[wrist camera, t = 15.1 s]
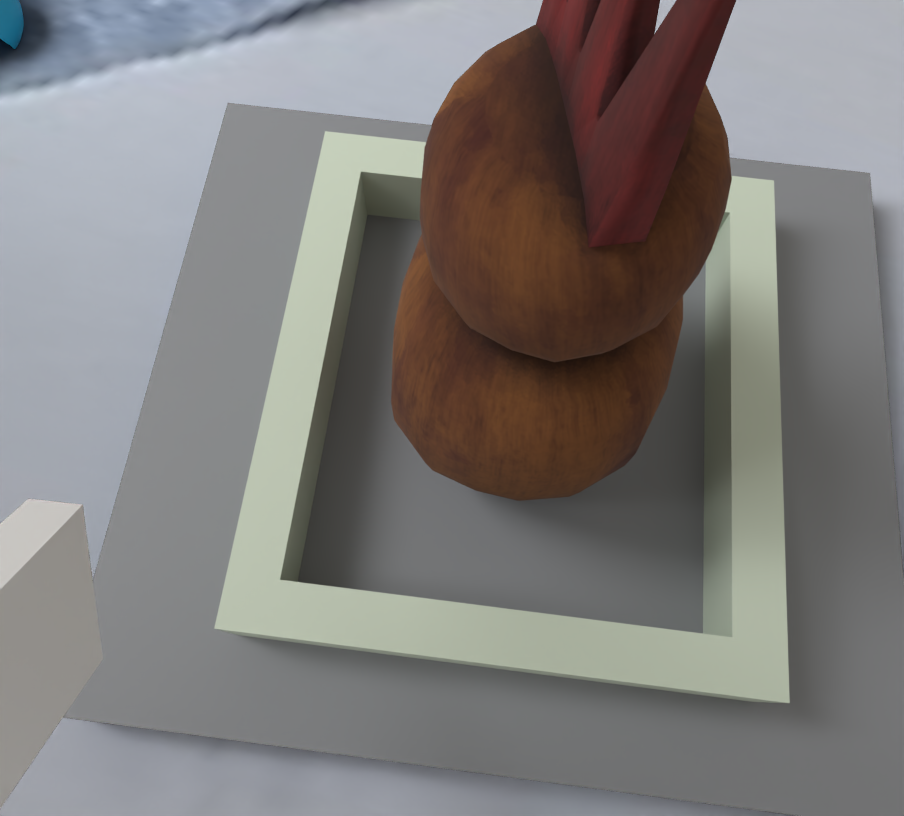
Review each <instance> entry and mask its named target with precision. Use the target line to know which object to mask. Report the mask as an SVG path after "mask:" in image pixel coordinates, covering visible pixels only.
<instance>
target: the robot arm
mask: <svg viewBox="0 0 904 816" xmlns="http://www.w3.org/2000/svg"><path fill="white" fill-rule="evenodd" d="M102 659H103V655H102V648H101V640H100V633H99V625H98V617H97V610H96V602H95V595H94V587H93V579H92V572H91V564H90V556H89V549H88V541H87V534H86V526H85V518H84V511H83V505H81V504H72V503H63V502H55V501H46V500H37V499H27V500H26V501H25V502H24V503H23V504H22V505H21V506H20V507H18V508H17V509H16V510H15V511H14V512H13V513H12V514H11V515H10V516H8V517H7V518H6V519H5V520H4V521H3V522H2V523H1V524H0V809H1V807H2V806H3V804H4V803H5V801H6V800H7V798H8V797H9V795H10V794H11V792H12V791H13V789H14V788H15V787H16V785H17V784H18V782H19V781H20V779H21V778H22V776H23V775H24V773H25V772H26V770H27V769H28V768H29V766H30V765H31V763H32V762H33V760H34V759H35V757H36V756H37V754H38V753H39V751H40V750H41V749H42V747H43V746H44V744H45V743H46V741H47V740H48V738H49V737H50V735H51V734H52V732H53V731H54V729H55V728H56V727H57V725H58V724H59V722H60V721H61V719H62V718H63V716H64V715H65V713H66V712H67V710H68V709H69V708H70V706H71V705H72V703H73V702H74V700H75V699H76V697H77V696H78V694H79V693H80V691H81V690H82V688H83V687H84V686H85V684H86V683H87V681H88V680H89V678H90V677H91V675H92V674H93V672H94V671H95V669H96V668H97V667H98V665H99V664H100V662H101V661H102Z"/></svg>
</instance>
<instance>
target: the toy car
mask: <svg viewBox="0 0 904 816" xmlns="http://www.w3.org/2000/svg"><path fill="white" fill-rule="evenodd" d="M23 27H24V19H23V12H22V7H21V4H20V2H19V0H0V39H2V40H3V41H4V42H6V43H7V44H9V45H10V46H11V47H12V48H14V49H16V47H17V46H18V44H19V42H20V40H21V36H22V33H23Z"/></svg>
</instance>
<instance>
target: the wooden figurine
mask: <svg viewBox="0 0 904 816" xmlns="http://www.w3.org/2000/svg"><path fill="white" fill-rule="evenodd" d="M735 2H736V0H677V1H676V2H675V4H674V5H673V7H672V8H671V10H670V11H669V13H668V14H667V16H666V18H665V19H664V21H663V22H662V24H661V25H660V27H659V28H658V30H657V31H656V33H655V34H654V32H655V26H656V20H657V15H658V9H659V3H660V0H543V3H542V6H541V9H540V13H539V16H538V19H537V22H536V25H534V26H532V27H530V28H528V29H526V30H524V31H522V32H520V33H518V34H517V35H515V36H513V37H511V38H509V39H507V40H505V41H503V42H501V43H500V44H498V45H496V46H495V47H493V48H491V49H490V50H488V51H486V52H485V53H484V54H483V55H482V56H481V57H480V58H479V59H478V60H477V61H476V62H475V63H474V64H473V65H472V66H471V67H470V68H469V69H468V70H467V71H466V72H465V73H464V74H463V75H462V76H461V77H460V78H459V79H458V80H457V81H456V82H455V83H454V84H453V86H452V88H451V90H450V91H449V93H448V95H447V97H446V98H445V100H444V102H443V104H442V106H441V107H440V109H439V111H438V113H437V114H436V116H435V118H434V120H433V123H432V126H431V129H430V132H429V135H428V138H427V142H426V145H425V148H424V159H423V171H422V182H421V196H420V224H421V232H422V234H421V236H420V238H419V241H418V244H417V246H416V249H415V252H414V254H413V257H412V260H411V262H410V265H409V267H408V270H407V273H406V275H405V278H404V281H403V284H402V289H401V295H400V300H399V305H398V310H397V315H396V321H395V326H394V336H393V357H392V388H391V405H392V411H393V416H394V420H395V422H396V423H397V425H398V426H399V427H400V429H401V430H402V431H403V433H404V434H405V436H406V437H407V438H408V440H409V441H410V443H411V444H412V445H413V447H414V448H415V449H416V451H417V452H418V454H419V455H420V456H421V458H422V459H423V461H424V462H425V463H426V464H427V465H428V466H429V467H430V468H431V469H432V470H433V471H435V472H437V473H439V474H441V475H443V476H445V477H448V478H450V479H452V480H454V481H456V482H458V483H460V484H463V485H465V486H467V487H469V488H471V489H473V490H476V491H479V492H483V493H488V494H492V495H496V496H500V497H504V498H508V499H512V500H516V501H523V500H536V499H548V498H561V497H570V496H572V495H575V494H577V493H579V492H581V491H583V490H584V489H586V488H588V487H590V486H591V485H593V484H595V483H596V482H598V481H600V480H601V479H603V478H605V477H606V476H608V475H610V474H612V473H613V472H615V471H617V470H618V469H620V468H622V467H623V466H625V465H626V464H627V463H628V462H629V461H630V459H631V458H632V457H633V456H634V455H635V454H636V452H637V450H638V448H639V446H640V444H641V442H642V440H643V437H644V435H645V433H646V431H647V429H648V427H649V425H650V423H651V421H652V419H653V417H654V414H655V412H656V410H657V408H658V406H659V404H660V402H661V400H662V398H663V396H664V394H665V392H666V389H667V386H668V382H669V378H670V374H671V369H672V365H673V361H674V357H675V353H676V349H677V344H678V340H679V336H680V331H681V327H682V322H683V295H684V293H685V292H686V291H687V290H688V288H689V287H690V285H691V284H692V283H693V281H694V280H695V279H696V277H697V276H698V275H699V273H700V271H701V269H702V267H703V265H704V263H705V262H706V260H707V258H708V256H709V254H710V252H711V250H712V247H713V245H714V242H715V239H716V236H717V233H718V230H719V227H720V224H721V221H722V219H723V216H724V213H725V210H726V206H727V201H728V196H729V191H730V186H731V181H732V176H731V166H730V157H729V147H728V138H727V134H726V131H725V128H724V125H723V122H722V119H721V117H720V114H719V112H718V110H717V108H716V105H715V103H714V101H713V99H712V97H711V94H710V92H709V90H708V88H707V86H706V80H707V78H708V75H709V72H710V70H711V67H712V64H713V61H714V59H715V56H716V53H717V51H718V48H719V45H720V43H721V40H722V37H723V34H724V32H725V29H726V26H727V24H728V21H729V18H730V15H731V13H732V10H733V7H734V5H735Z"/></svg>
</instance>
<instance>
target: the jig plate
mask: <svg viewBox="0 0 904 816" xmlns="http://www.w3.org/2000/svg"><path fill="white" fill-rule="evenodd" d="M431 126H432V125H425V124H416V123H407V122H398V121H388V120H379V119H370V118H361V117H352V116H343V115H334V114H324V113H315V112H306V111H297V110H288V109H279V108H269V107H260V106H251V105H242V104H233V103H228V104H227V108H226V111H225V115H224V118H223V122H222V125H221V129H220V132H219V136H218V139H217V143H216V146H215V150H214V154H213V157H212V161H211V164H210V168H209V171H208V175H207V178H206V182H205V185H204V189H203V192H202V196H201V200H200V203H199V207H198V210H197V214H196V217H195V221H194V224H193V228H192V231H191V235H190V238H189V242H188V246H187V249H186V253H185V256H184V260H183V263H182V267H181V270H180V274H179V277H178V281H177V284H176V288H175V292H174V295H173V299H172V302H171V306H170V309H169V313H168V316H167V320H166V323H165V327H164V330H163V334H162V338H161V341H160V345H159V348H158V352H157V355H156V359H155V362H154V366H153V369H152V373H151V376H150V380H149V384H148V387H147V391H146V394H145V398H144V401H143V405H142V408H141V412H140V415H139V419H138V423H137V426H136V430H135V433H134V437H133V440H132V444H131V447H130V451H129V454H128V458H127V461H126V465H125V469H124V472H123V476H122V479H121V483H120V486H119V490H118V493H117V497H116V500H115V504H114V507H113V511H112V515H111V518H110V522H109V525H108V529H107V532H106V536H105V539H104V543H103V546H102V550H101V553H100V557H99V561H98V564H97V568H96V571H95V575H94V578H93V587H94V595H95V602H96V610H97V617H98V625H99V633H100V640H101V648H102V655H103V659H102V661H101V662H100V664H99V665H98V667H97V668H96V669H95V671H94V672H93V674H92V675H91V677H90V678H89V680H88V681H87V683H86V684H85V686H84V687H83V688H82V690H81V691H80V693H79V694H78V696H77V697H76V699H75V700H74V702H73V703H72V705H71V706H70V708H69V709H68V710H67V712H66V713H65V715H64V716H63V718H70V719H78V720H85V721H93V722H100V723H107V724H115V725H122V726H130V727H137V728H145V729H152V730H160V731H167V732H175V733H182V734H190V735H197V736H205V737H212V738H220V739H227V740H235V741H242V742H249V743H257V744H264V745H272V746H279V747H287V748H294V749H302V750H309V751H317V752H324V753H332V754H339V755H347V756H354V757H362V758H369V759H377V760H384V761H391V762H399V763H406V764H414V765H421V766H429V767H436V768H444V769H451V770H459V771H466V772H474V773H481V774H489V775H496V776H504V777H511V778H519V779H526V780H533V781H541V782H548V783H556V784H563V785H571V786H578V787H586V788H593V789H601V790H608V791H616V792H623V793H631V794H638V795H646V796H653V797H661V798H668V799H675V800H683V801H690V802H698V803H705V804H713V805H720V806H728V807H735V808H743V809H750V810H758V811H765V812H773V813H780V814H788V815H795V816H904V577H903V565H902V553H901V541H900V529H899V517H898V505H897V493H896V481H895V468H894V456H893V444H892V432H891V420H890V408H889V396H888V384H887V372H886V360H885V348H884V336H883V324H882V312H881V300H880V288H879V276H878V264H877V252H876V239H875V227H874V215H873V203H872V191H871V179H870V173H865V172H855V171H846V170H837V169H828V168H819V167H810V166H800V165H791V164H782V163H773V162H764V161H755V160H746V159H736V158H730V166H731V176H732V181H731V186H730V191H729V196H728V201H727V206H726V210H725V213H724V216H723V219H722V221H721V224H720V227H719V230H718V233H717V236H716V239H715V242H714V245H713V247H712V250H711V252H710V254H709V256H708V258H707V260H706V262H705V263H704V265H703V267H702V269H701V271H700V273H699V275H698V276H697V277H696V279H695V280H694V281H693V283H692V284H691V285H690V287H689V288H688V290H687V291H686V292H685V293H684V295H683V322H682V327H681V331H680V336H679V340H678V344H677V349H676V353H675V357H674V361H673V365H672V369H671V374H670V378H669V382H668V386H667V389H666V392H665V394H664V396H663V398H662V400H661V402H660V404H659V406H658V408H657V410H656V412H655V414H654V417H653V419H652V421H651V423H650V425H649V427H648V429H647V431H646V433H645V435H644V437H643V440H642V442H641V444H640V446H639V448H638V450H637V452H636V454H635V455H634V456H633V457H632V458H631V459H630V461H629V462H628V463H627V464H626V465H625V466H623V467H622V468H620V469H618V470H617V471H615V472H613V473H612V474H610V475H608V476H606V477H605V478H603V479H601V480H600V481H598V482H596V483H595V484H593V485H591V486H590V487H588V488H586V489H584V490H583V491H581V492H579V493H577V494H575V495H572V496H570V497H561V498H548V499H536V500H523V501H516V500H512V499H508V498H504V497H500V496H496V495H492V494H488V493H483V492H479V491H476V490H473V489H471V488H469V487H467V486H465V485H463V484H460V483H458V482H456V481H454V480H452V479H450V478H448V477H445V476H443V475H441V474H439V473H437V472H435V471H433V470H432V469H431V468H430V467H429V466H428V465H427V464H426V463H425V462H424V461H423V459H422V458H421V456H420V455H419V454H418V452H417V451H416V449H415V448H414V447H413V445H412V444H411V443H410V441H409V440H408V438H407V437H406V436H405V434H404V433H403V431H402V430H401V429H400V427H399V426H398V425H397V423H396V422H395V420H394V416H393V411H392V405H391V388H392V357H393V336H394V326H395V321H396V315H397V310H398V305H399V300H400V295H401V289H402V284H403V281H404V278H405V275H406V273H407V270H408V267H409V265H410V262H411V260H412V257H413V254H414V252H415V249H416V246H417V244H418V241H419V238H420V236H421V234H422V232H421V224H420V196H421V182H422V171H423V159H424V148H425V145H426V142H427V138H428V135H429V132H430V129H431Z"/></svg>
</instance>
